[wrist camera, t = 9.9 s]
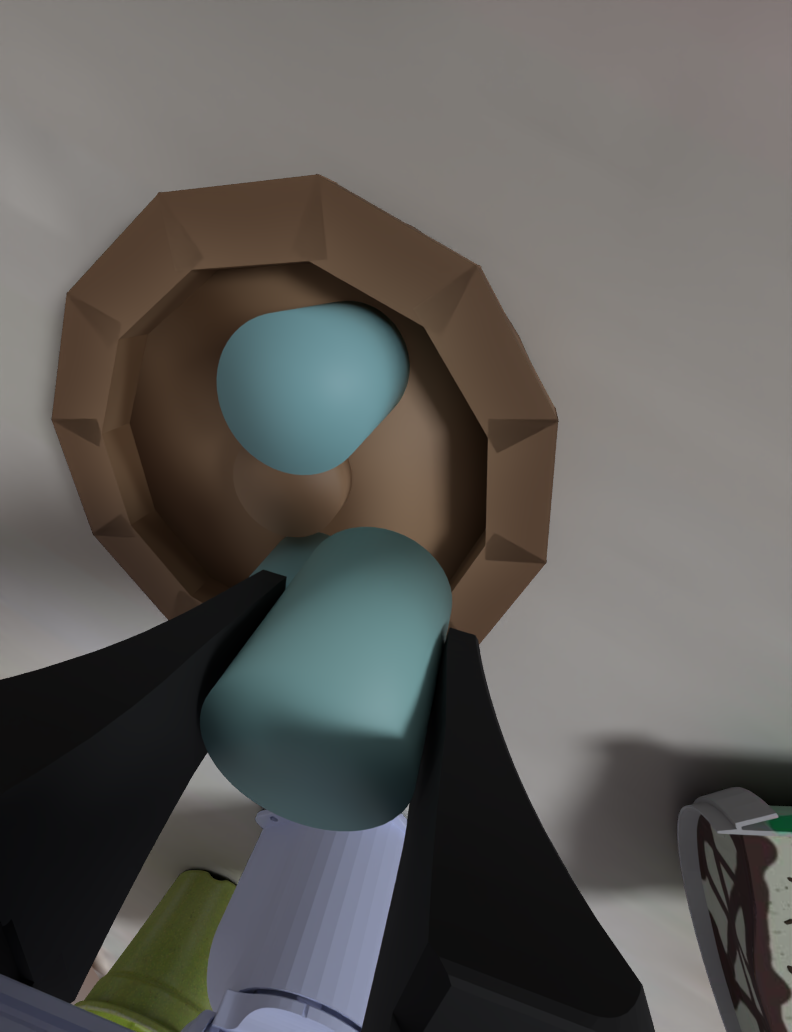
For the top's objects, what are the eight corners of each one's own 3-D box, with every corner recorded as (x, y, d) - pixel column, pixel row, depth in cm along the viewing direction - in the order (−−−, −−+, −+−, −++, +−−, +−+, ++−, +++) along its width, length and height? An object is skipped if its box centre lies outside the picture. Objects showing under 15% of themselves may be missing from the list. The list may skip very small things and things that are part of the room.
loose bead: (473, 557, 12) (445, 723, 8) (427, 673, 14) (385, 858, 10) (318, 505, 12) (206, 635, 8) (294, 625, 14) (194, 783, 10)
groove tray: (282, 687, 26) (260, 725, 24) (28, 383, 21) (-29, 396, 19) (634, 554, 18) (650, 592, 16) (365, 41, 14) (335, -2, 11)
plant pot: (213, 933, 40) (142, 1086, 33) (135, 861, 38) (39, 1009, 30) (298, 924, 37) (240, 1095, 29) (218, 844, 34) (131, 1008, 27)
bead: (272, 345, 17) (186, 370, 13) (365, 273, 15) (303, 274, 11) (339, 443, 18) (281, 499, 14) (432, 386, 16) (400, 428, 12)
